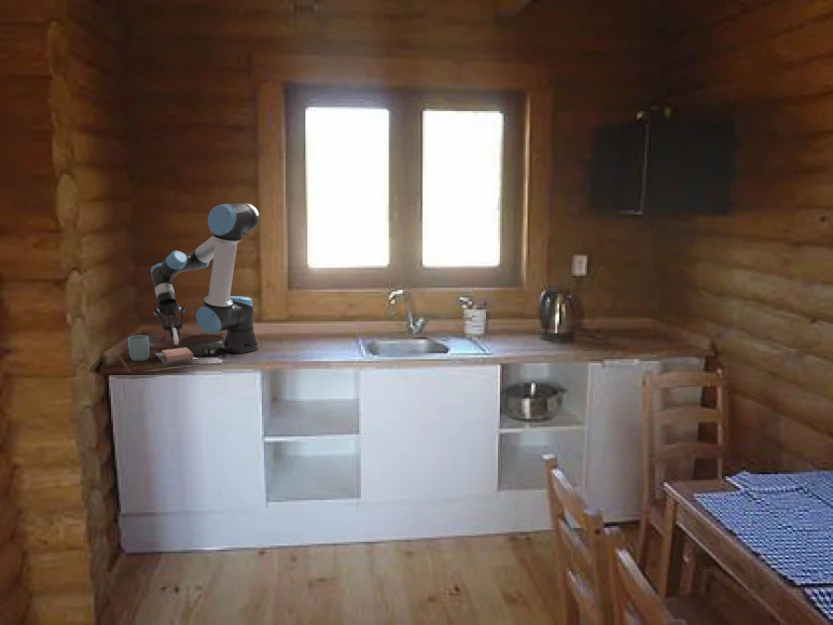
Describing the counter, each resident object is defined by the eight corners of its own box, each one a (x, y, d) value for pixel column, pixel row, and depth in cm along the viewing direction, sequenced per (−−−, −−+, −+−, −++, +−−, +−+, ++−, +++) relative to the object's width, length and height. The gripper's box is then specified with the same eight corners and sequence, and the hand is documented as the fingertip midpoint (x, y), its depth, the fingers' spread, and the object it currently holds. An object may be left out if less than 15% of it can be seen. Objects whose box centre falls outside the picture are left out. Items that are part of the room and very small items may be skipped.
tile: (162, 350, 309) (167, 356, 300) (186, 347, 314) (192, 353, 305) (162, 355, 310) (167, 361, 300) (186, 352, 315) (193, 358, 305)
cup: (143, 357, 310) (141, 333, 308) (153, 360, 306) (152, 336, 304) (126, 361, 305) (124, 337, 302) (136, 364, 300) (134, 340, 298)
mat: (155, 355, 313) (154, 353, 313) (188, 351, 320) (188, 349, 320) (163, 365, 298) (163, 363, 298) (199, 360, 305) (198, 359, 305)
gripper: (180, 300, 322) (191, 345, 311) (149, 302, 316) (159, 349, 305) (182, 289, 317) (194, 336, 306) (150, 292, 310) (161, 339, 300)
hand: (176, 342), depth 306 cm, fingers closed
